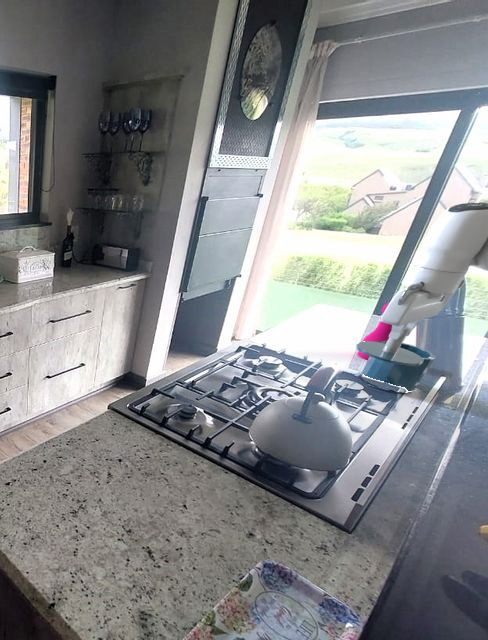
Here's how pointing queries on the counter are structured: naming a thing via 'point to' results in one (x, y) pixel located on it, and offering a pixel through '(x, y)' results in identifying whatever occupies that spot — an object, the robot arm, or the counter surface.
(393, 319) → the robot arm
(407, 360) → the lid
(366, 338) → the pepper mill
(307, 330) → the counter surface
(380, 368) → the cup
